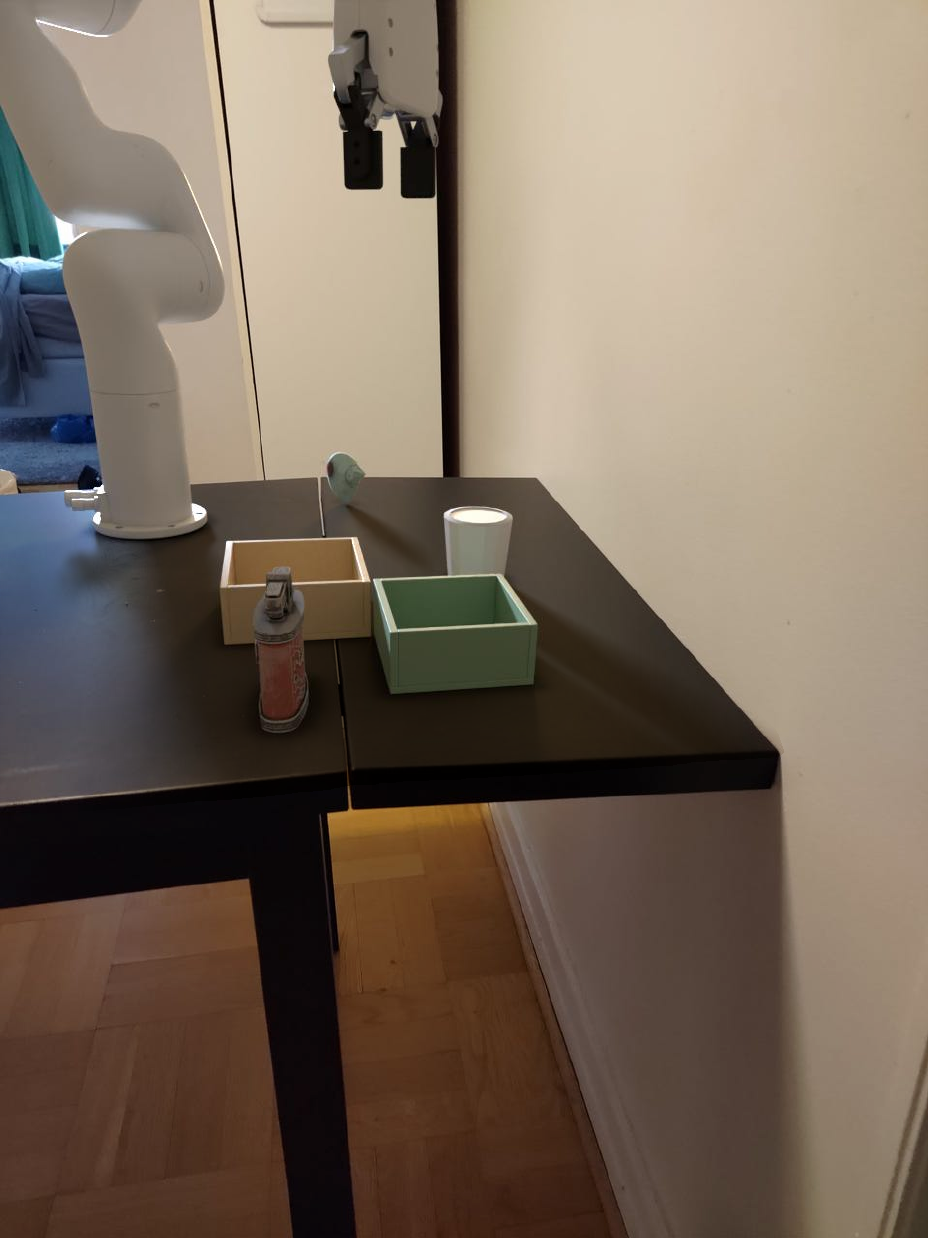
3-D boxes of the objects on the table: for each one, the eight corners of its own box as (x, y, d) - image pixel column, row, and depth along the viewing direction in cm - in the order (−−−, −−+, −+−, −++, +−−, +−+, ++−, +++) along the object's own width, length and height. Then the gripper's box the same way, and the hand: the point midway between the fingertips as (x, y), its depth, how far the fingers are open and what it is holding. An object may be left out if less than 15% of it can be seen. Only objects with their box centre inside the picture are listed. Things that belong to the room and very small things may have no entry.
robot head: (371, 509, 109) (370, 457, 106) (341, 513, 107) (340, 460, 104) (345, 494, 115) (344, 444, 112) (317, 497, 113) (315, 447, 110)
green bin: (390, 694, 64) (390, 632, 62) (373, 633, 74) (373, 578, 72) (533, 684, 66) (538, 624, 64) (498, 626, 76) (501, 573, 74)
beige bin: (224, 645, 71) (219, 587, 69) (230, 591, 82) (226, 540, 80) (371, 637, 73) (370, 581, 71) (358, 586, 84) (357, 536, 82)
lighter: (268, 678, 65) (260, 555, 61) (312, 678, 66) (307, 555, 62) (253, 733, 58) (242, 597, 54) (303, 732, 58) (296, 597, 54)
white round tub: (503, 596, 83) (507, 527, 80) (434, 589, 84) (436, 521, 81) (513, 573, 89) (517, 508, 86) (449, 566, 90) (451, 502, 87)
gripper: (397, -21, 73) (399, 201, 80) (282, -93, 58) (296, 185, 65) (478, -29, 70) (473, 200, 77) (379, -108, 56) (383, 184, 62)
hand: (392, 193), depth 71 cm, fingers open, 9 cm apart
